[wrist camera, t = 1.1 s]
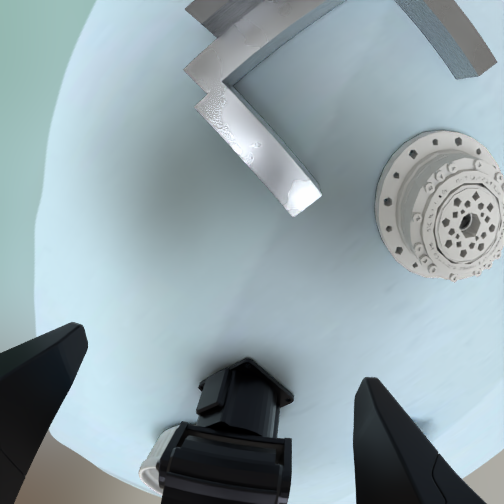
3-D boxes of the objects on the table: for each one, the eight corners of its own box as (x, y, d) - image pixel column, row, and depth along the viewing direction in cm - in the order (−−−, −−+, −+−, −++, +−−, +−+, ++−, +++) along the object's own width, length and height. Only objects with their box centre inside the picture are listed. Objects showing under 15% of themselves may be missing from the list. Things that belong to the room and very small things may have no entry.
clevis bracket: (474, 66, 14) (526, 58, 9) (293, 202, 20) (292, 238, 15) (329, -85, 11) (336, -133, 5) (147, 46, 17) (97, 30, 11)
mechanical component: (512, 214, 18) (451, 100, 16) (545, 236, 14) (486, 101, 12) (420, 293, 22) (343, 192, 20) (439, 328, 18) (355, 213, 16)
